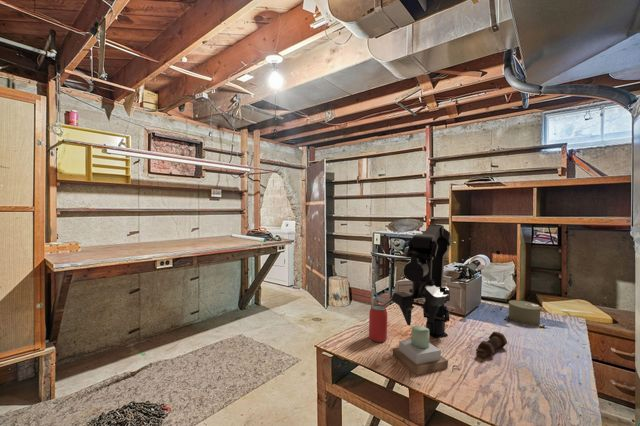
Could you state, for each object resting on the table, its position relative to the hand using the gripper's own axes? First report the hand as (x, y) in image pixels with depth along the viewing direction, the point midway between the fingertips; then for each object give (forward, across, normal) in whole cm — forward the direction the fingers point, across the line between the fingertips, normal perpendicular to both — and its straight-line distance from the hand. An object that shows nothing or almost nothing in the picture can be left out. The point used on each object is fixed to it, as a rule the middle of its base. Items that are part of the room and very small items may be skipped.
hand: (420, 323), depth 94 cm
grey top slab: (+10, 0, 0) cm, 10 cm away
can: (+13, +69, +12) cm, 72 cm away
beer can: (+13, -4, +18) cm, 23 cm away
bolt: (+13, +28, -3) cm, 31 cm away
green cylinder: (+7, 0, 0) cm, 7 cm away
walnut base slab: (+13, 0, 0) cm, 13 cm away
